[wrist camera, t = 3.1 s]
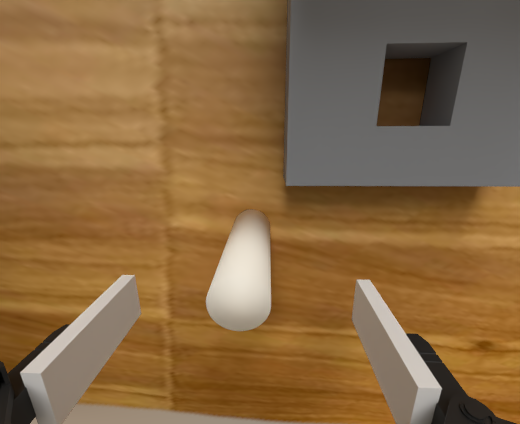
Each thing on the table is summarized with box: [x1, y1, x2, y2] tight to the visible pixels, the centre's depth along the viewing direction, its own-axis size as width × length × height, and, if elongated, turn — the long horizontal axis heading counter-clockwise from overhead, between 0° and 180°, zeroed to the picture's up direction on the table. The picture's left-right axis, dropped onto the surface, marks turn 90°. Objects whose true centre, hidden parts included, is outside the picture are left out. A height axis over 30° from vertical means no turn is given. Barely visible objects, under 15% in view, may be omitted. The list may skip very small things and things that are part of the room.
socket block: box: [283, 0, 520, 186], centre depth 20 cm, size 18×14×4 cm
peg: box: [206, 209, 271, 331], centre depth 20 cm, size 4×4×12 cm
